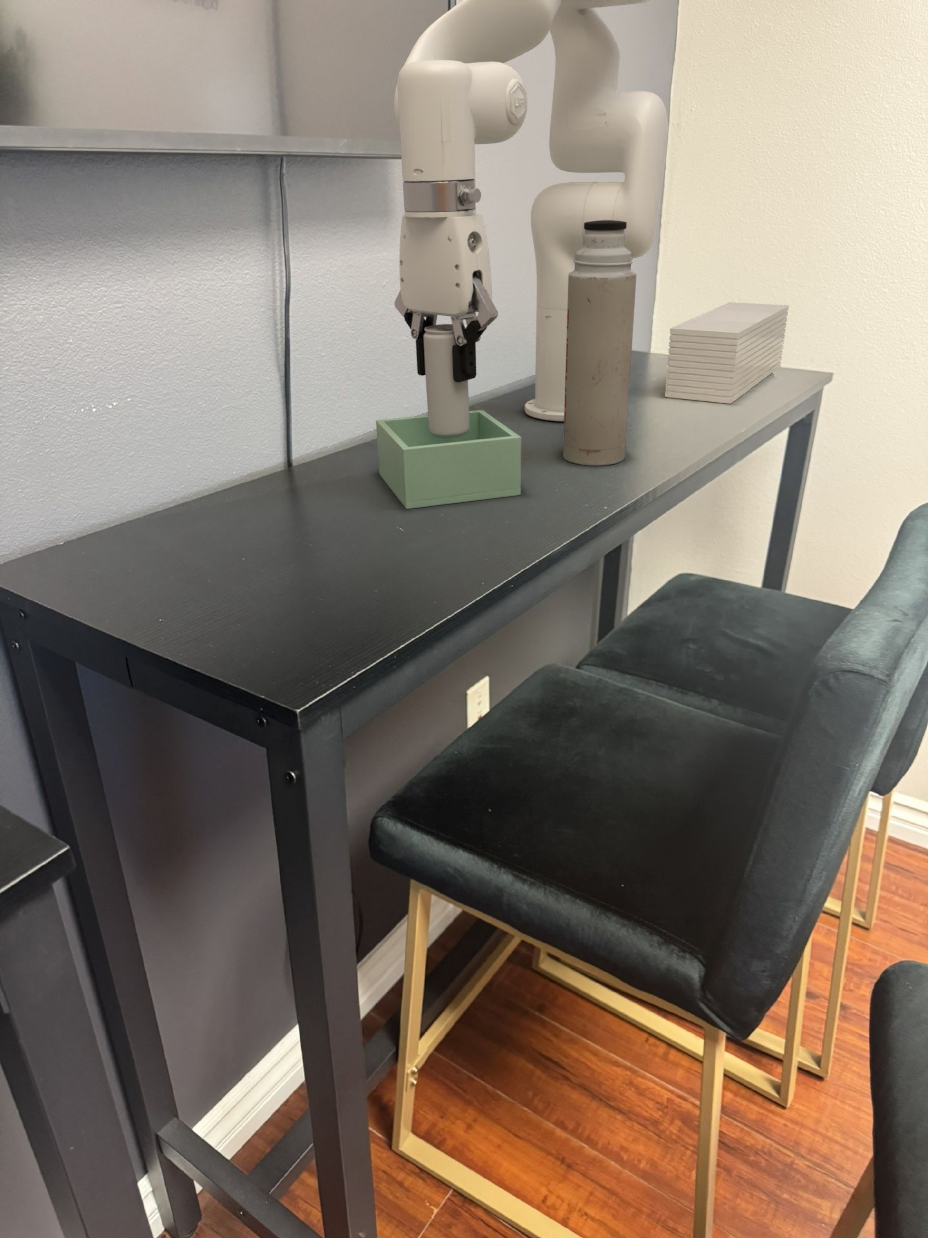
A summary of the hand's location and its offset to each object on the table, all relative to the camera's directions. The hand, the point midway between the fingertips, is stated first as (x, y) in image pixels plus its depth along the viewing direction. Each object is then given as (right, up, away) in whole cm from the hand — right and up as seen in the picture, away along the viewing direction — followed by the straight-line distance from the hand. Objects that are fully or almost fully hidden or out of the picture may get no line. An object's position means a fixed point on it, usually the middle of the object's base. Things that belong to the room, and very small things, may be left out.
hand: (446, 374), depth 102 cm
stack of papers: (+47, +13, +53) cm, 72 cm away
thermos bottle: (+19, -7, +14) cm, 25 cm away
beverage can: (0, -6, +3) cm, 7 cm away
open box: (0, -12, +5) cm, 13 cm away
